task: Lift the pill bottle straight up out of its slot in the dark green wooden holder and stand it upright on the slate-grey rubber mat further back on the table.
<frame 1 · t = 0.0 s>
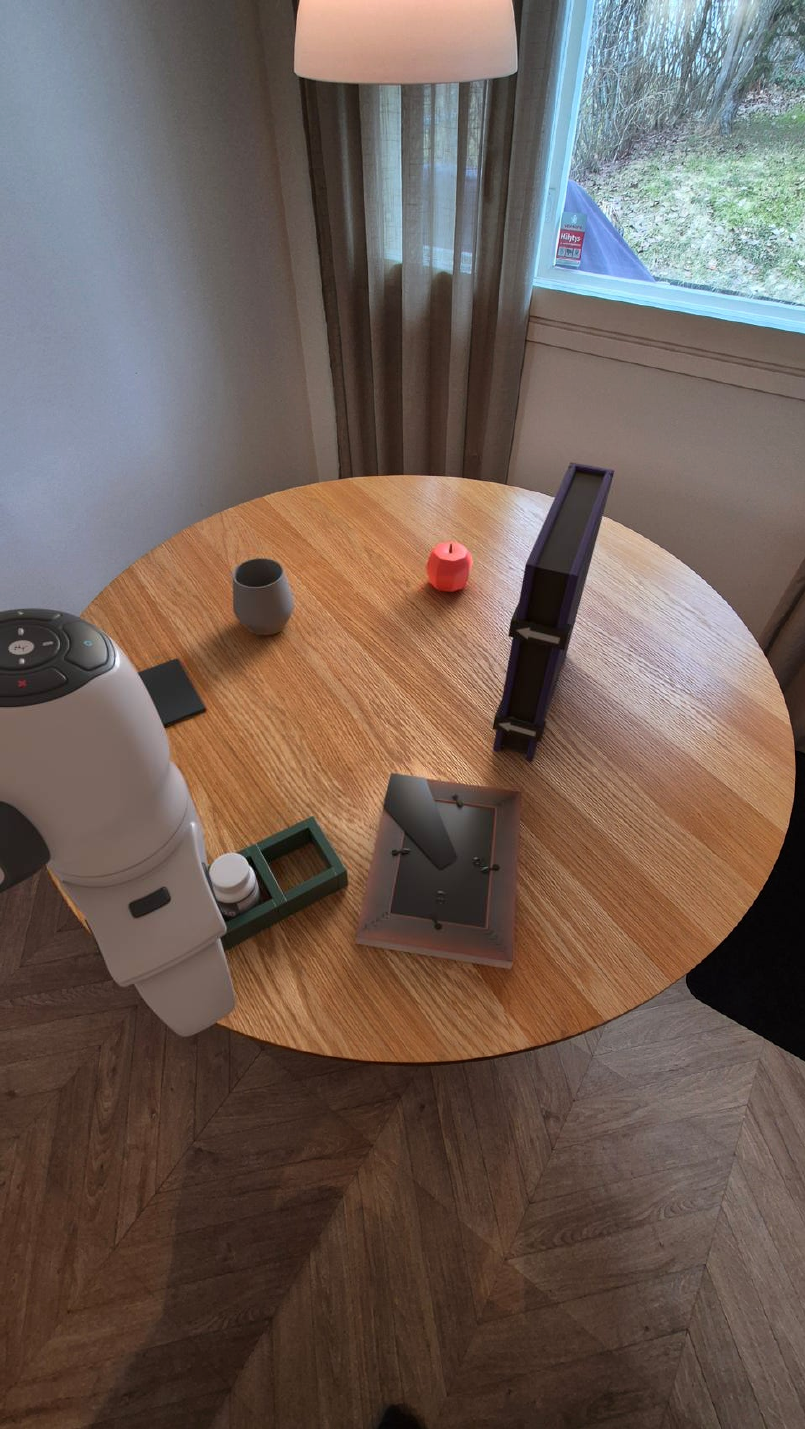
hand: (179, 931, 51), 19 cm above the table, tool pointing down, fingers open, 8 cm apart
mat: (151, 700, 95), on the table
apple: (448, 585, 114), on the table
picture frame: (444, 868, 77), on the table
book: (531, 700, 96), on the table
cup: (267, 625, 106), on the table
pill bottle: (242, 907, 74), resting in holder
holder: (270, 888, 75), on the table
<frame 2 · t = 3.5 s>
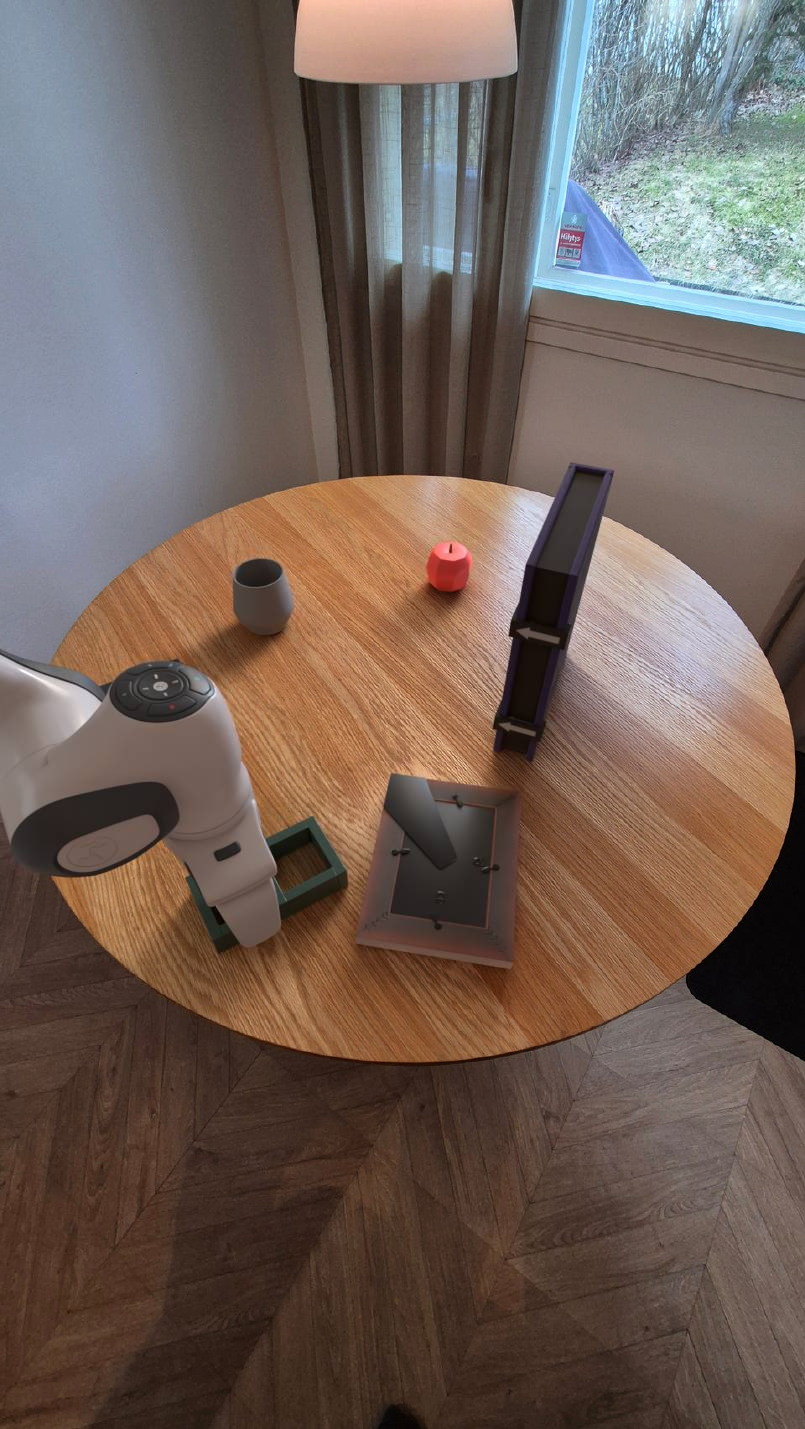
hand: (233, 883, 70), 5 cm above the table, tool pointing down, fingers closed on pill bottle, 5 cm apart
pill bottle: (242, 907, 74), resting in holder, touching gripper
everything else where it was.
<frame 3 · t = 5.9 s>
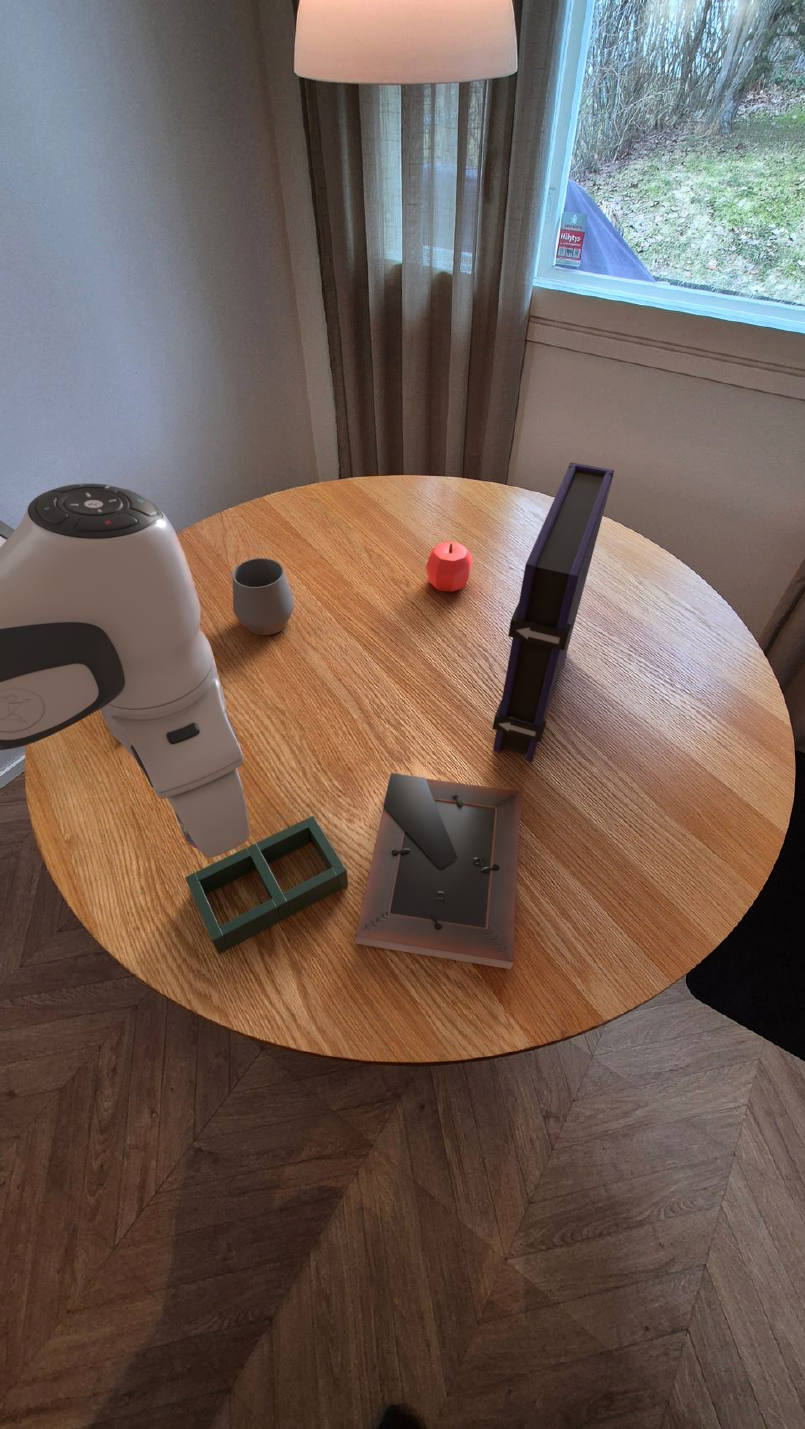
hand: (199, 798, 60), 19 cm above the table, tool pointing down, fingers closed on pill bottle, 5 cm apart
pill bottle: (210, 831, 64), point 14 cm above the table, touching gripper
everything else where it was.
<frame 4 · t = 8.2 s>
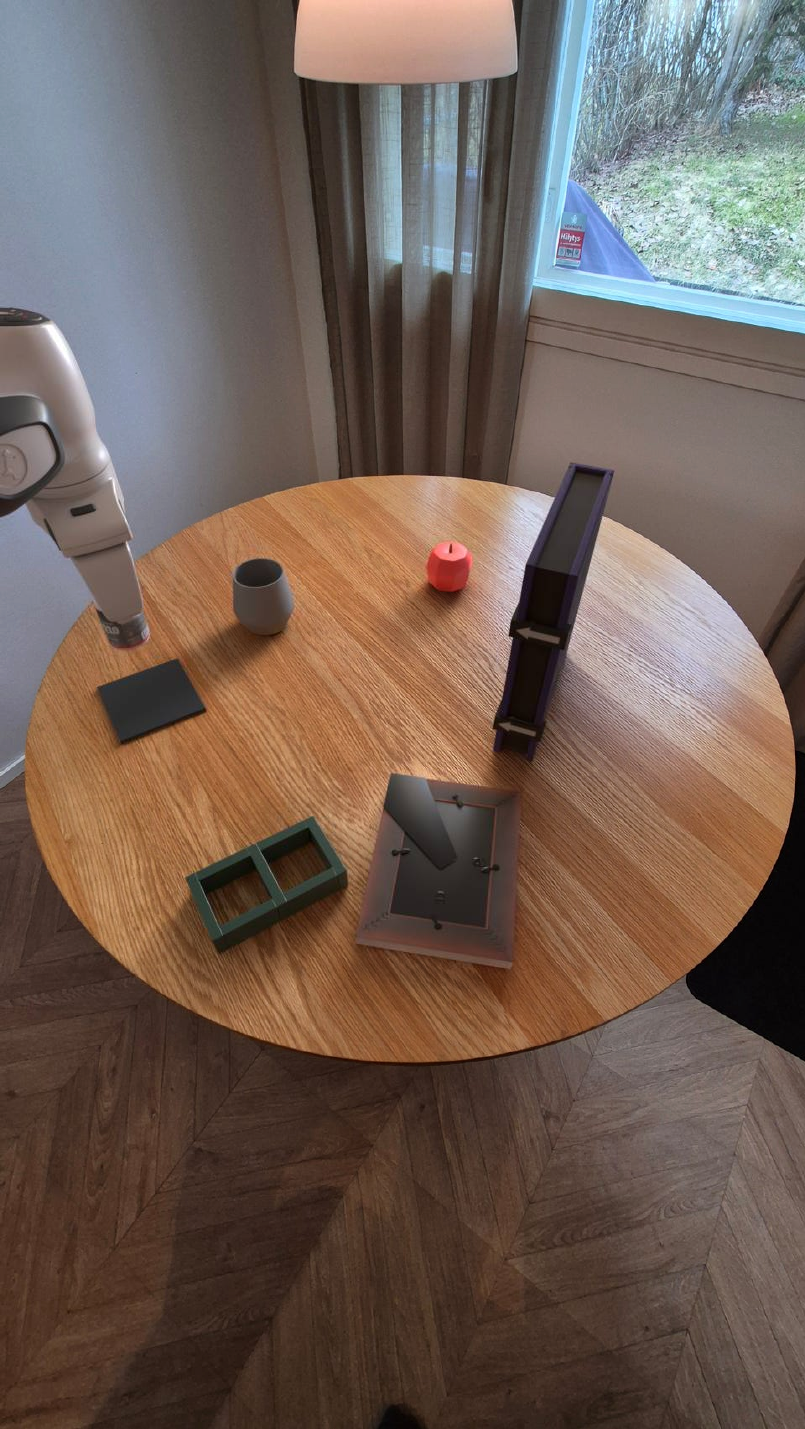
hand: (117, 604, 75), 21 cm above the table, tool pointing down, fingers closed on pill bottle, 5 cm apart
pill bottle: (130, 640, 79), point 16 cm above the table, touching gripper
everything else where it was.
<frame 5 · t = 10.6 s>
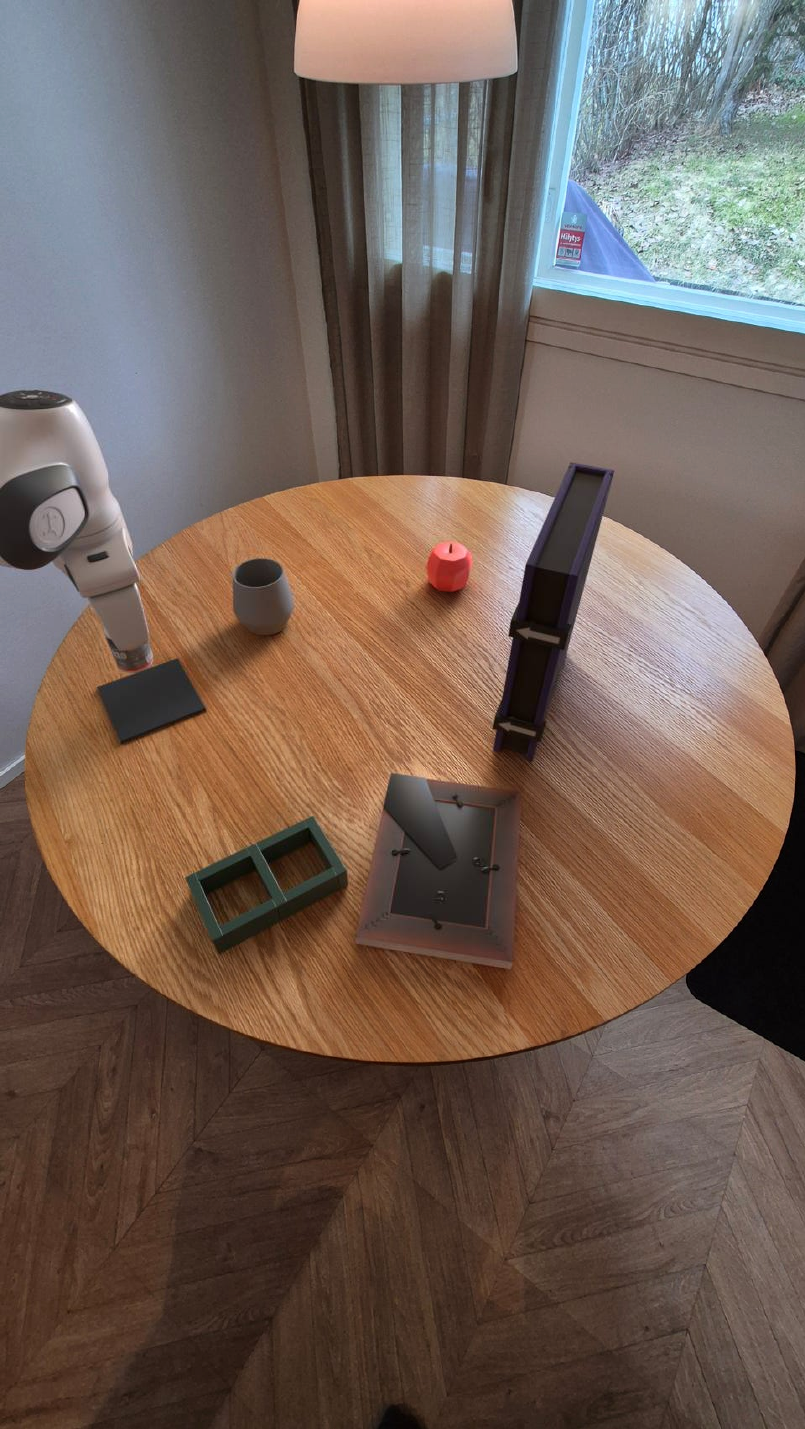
hand: (124, 632, 85), 13 cm above the table, tool pointing down, fingers closed on pill bottle, 5 cm apart
pill bottle: (136, 663, 89), point 7 cm above the table, touching gripper
everything else where it was.
when the fingers open (6 cm above the table, at t = 12.7 s): pill bottle stays where it is, resting on mat.
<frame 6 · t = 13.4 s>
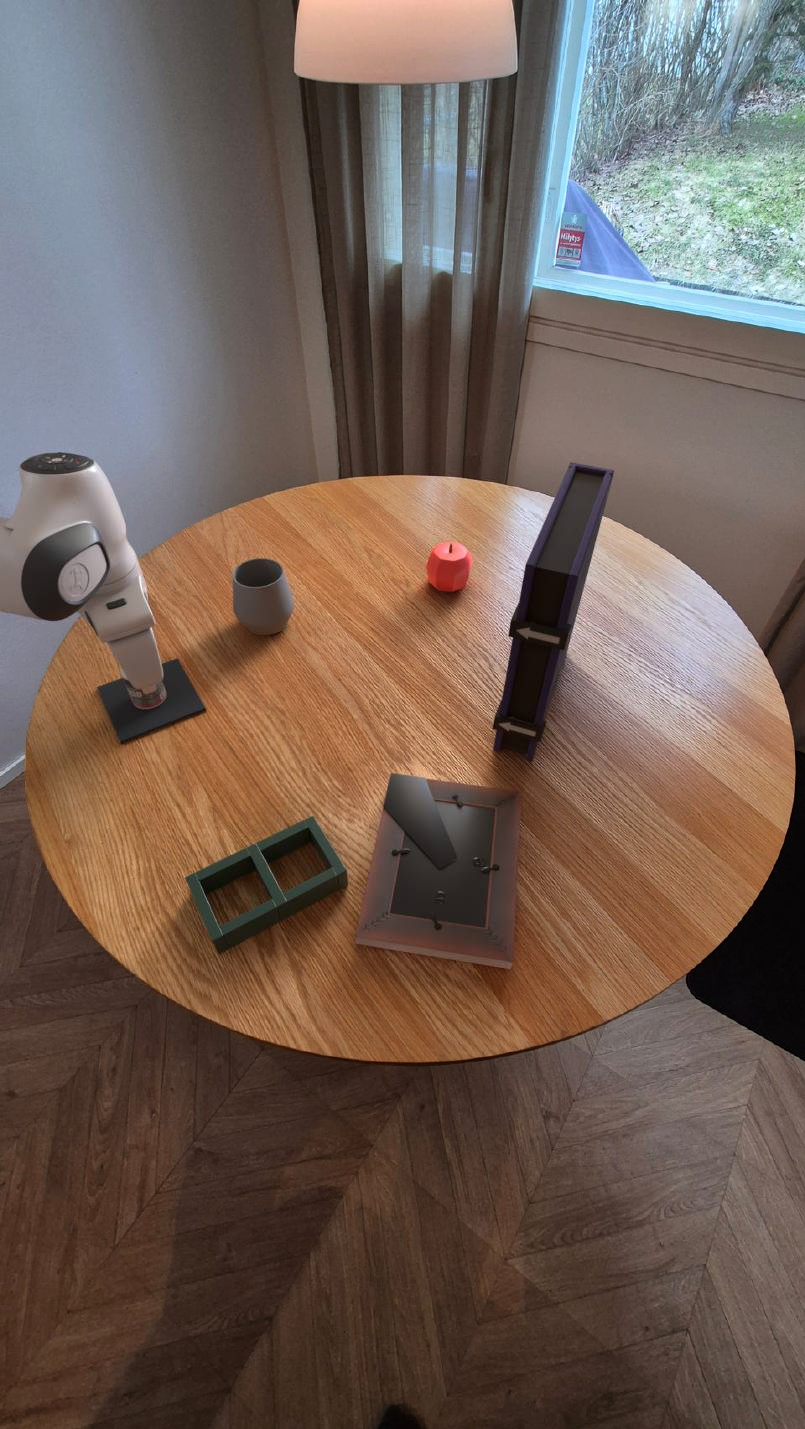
hand: (138, 668, 90), 6 cm above the table, tool pointing down, fingers open, 8 cm apart
pill bottle: (150, 699, 94), resting on mat
everything else where it was.
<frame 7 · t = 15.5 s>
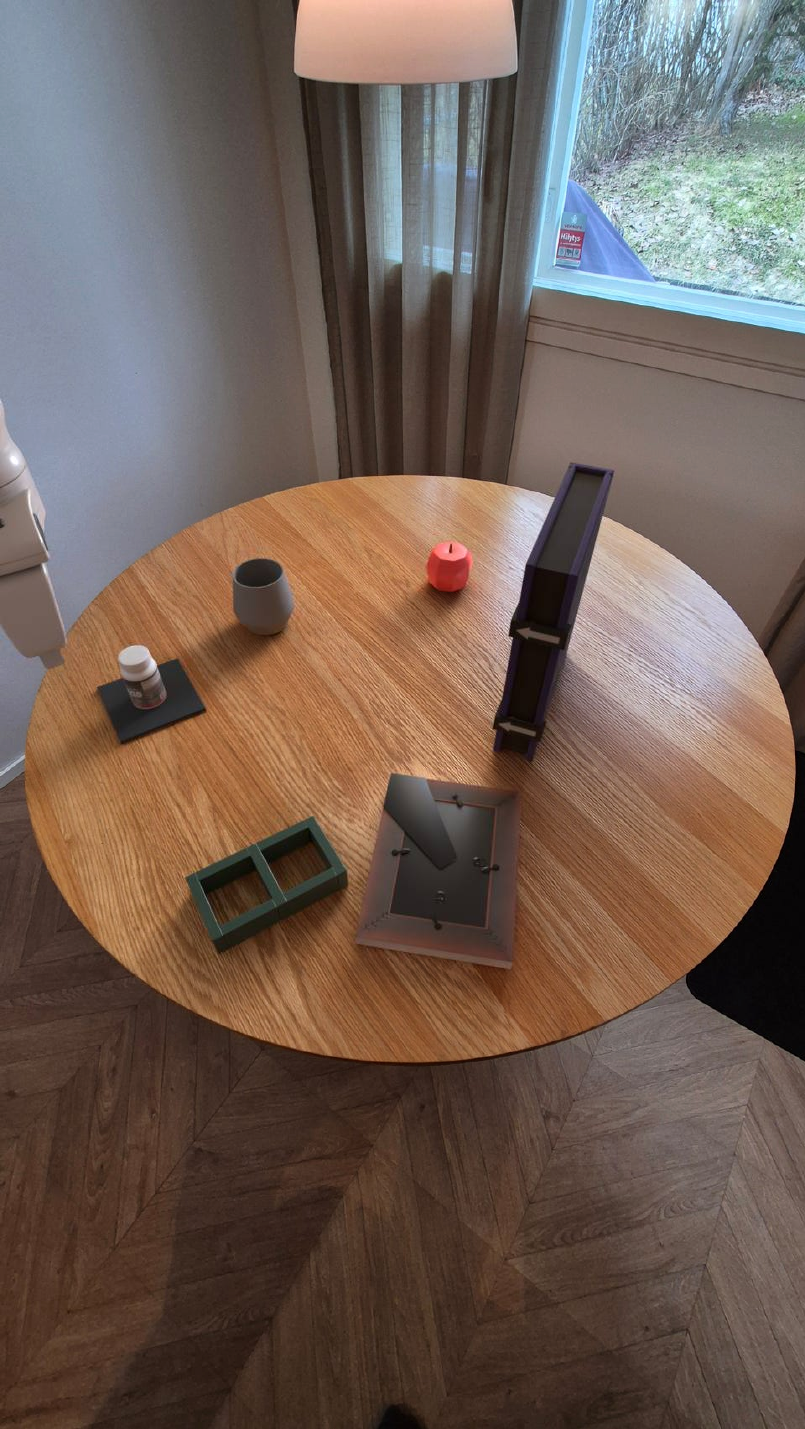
hand: (43, 634, 65), 26 cm above the table, tool pointing down, fingers open, 8 cm apart
nothing on the table moved.
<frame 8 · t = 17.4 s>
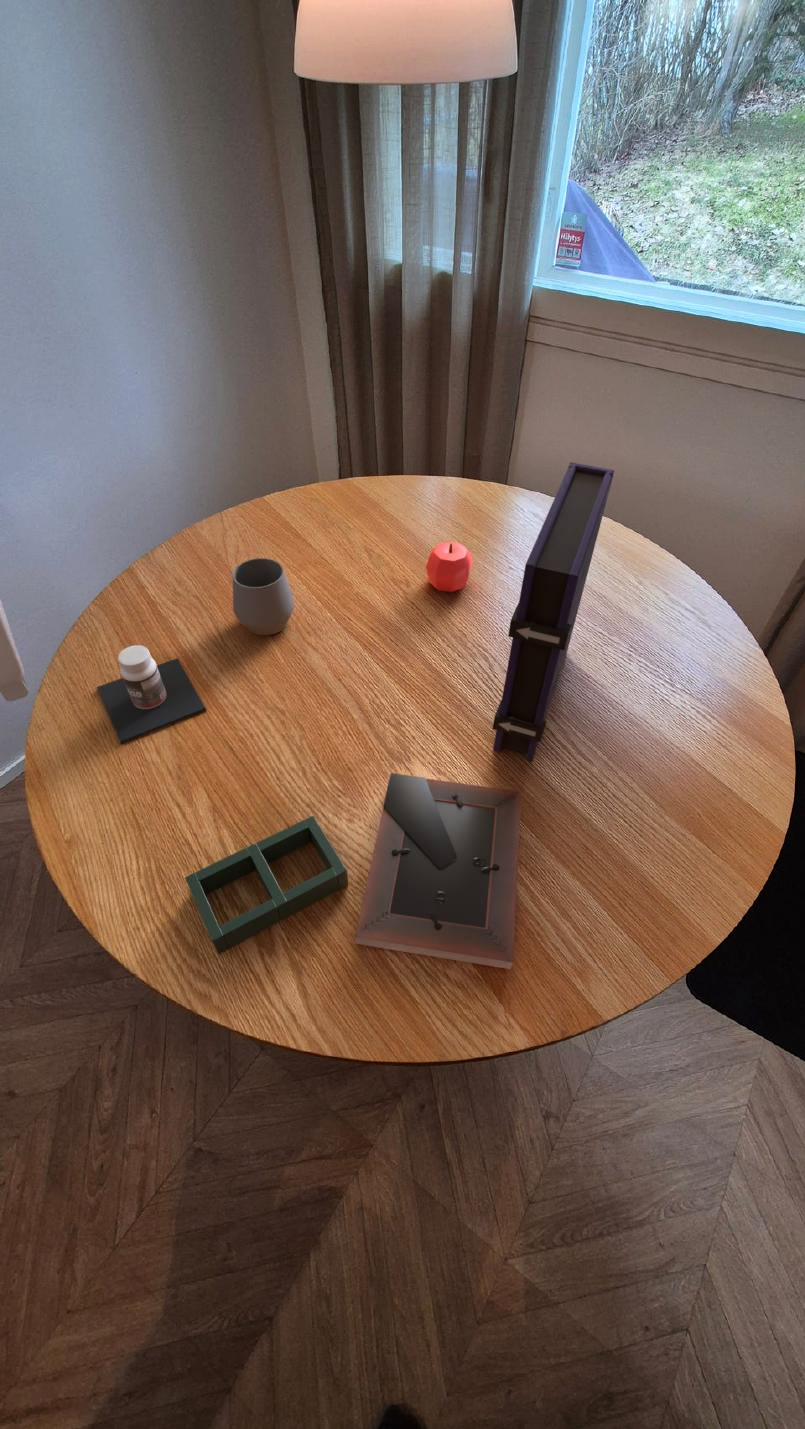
hand: (7, 660, 58), 29 cm above the table, tool pointing down, fingers open, 8 cm apart
nothing on the table moved.
at the end: pill bottle inside the target area on the mat (0.2 cm from its centre), point 0.4 cm above the mat's base; pill bottle tilted 0°; pill bottle touching mat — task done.
